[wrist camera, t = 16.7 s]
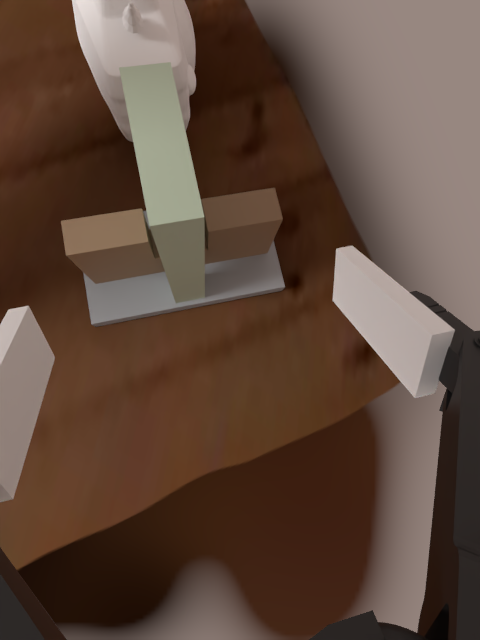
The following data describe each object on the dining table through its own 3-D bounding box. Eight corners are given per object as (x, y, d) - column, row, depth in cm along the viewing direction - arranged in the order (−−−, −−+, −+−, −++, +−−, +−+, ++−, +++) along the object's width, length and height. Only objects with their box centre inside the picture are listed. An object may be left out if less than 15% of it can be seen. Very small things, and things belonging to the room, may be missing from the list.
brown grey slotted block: (95, 326, 37) (59, 306, 28) (80, 228, 39) (41, 178, 30) (282, 290, 40) (305, 260, 31) (259, 199, 42) (275, 145, 33)
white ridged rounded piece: (119, 171, 41) (65, 37, 25) (85, 38, 44) (18, -157, 28) (213, 152, 42) (219, 15, 27) (175, 25, 45) (159, -167, 30)
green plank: (175, 303, 37) (149, 226, 20) (158, 213, 39) (118, 67, 21) (204, 297, 38) (204, 217, 20) (186, 209, 39) (170, 61, 22)
